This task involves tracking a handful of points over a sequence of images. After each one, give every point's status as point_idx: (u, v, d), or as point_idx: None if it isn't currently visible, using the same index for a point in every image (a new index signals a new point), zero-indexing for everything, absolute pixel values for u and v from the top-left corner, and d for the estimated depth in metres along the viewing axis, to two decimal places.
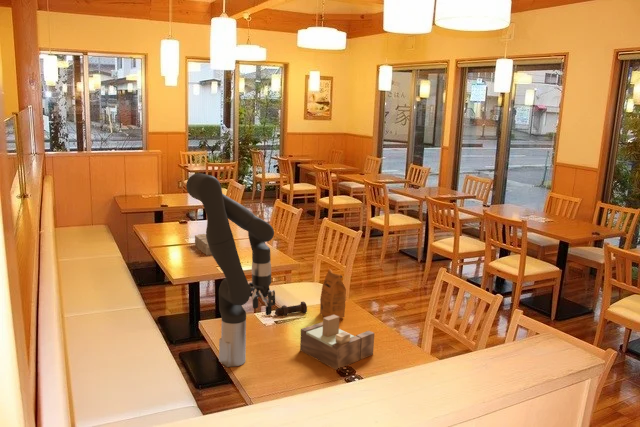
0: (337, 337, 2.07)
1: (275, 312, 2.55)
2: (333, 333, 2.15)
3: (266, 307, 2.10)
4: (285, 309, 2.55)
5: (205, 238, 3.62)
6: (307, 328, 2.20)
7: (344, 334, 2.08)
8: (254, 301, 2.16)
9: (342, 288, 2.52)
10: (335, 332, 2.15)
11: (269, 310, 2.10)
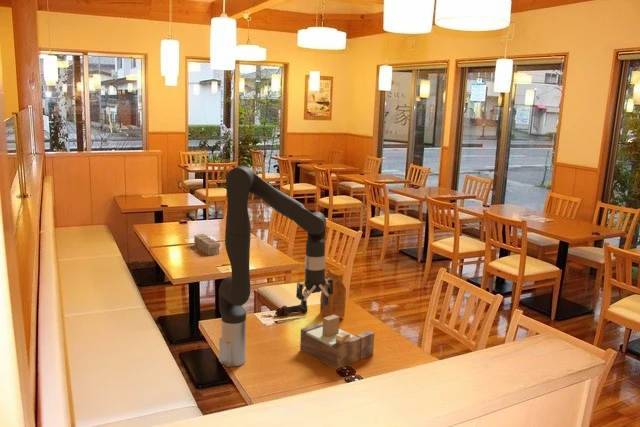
0: (337, 337, 2.07)
1: (276, 312, 2.55)
2: (333, 333, 2.15)
3: (326, 297, 2.05)
4: (285, 309, 2.55)
5: (205, 238, 3.62)
6: (307, 328, 2.20)
7: (344, 334, 2.08)
8: None
9: (342, 288, 2.52)
10: (335, 332, 2.15)
11: None
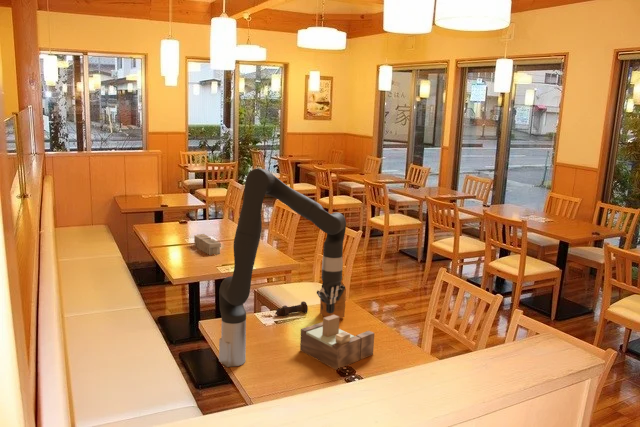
0: (337, 337, 2.07)
1: (276, 312, 2.55)
2: (333, 333, 2.15)
3: (333, 304, 2.00)
4: (286, 309, 2.55)
5: (206, 238, 3.62)
6: (307, 328, 2.20)
7: (344, 334, 2.08)
8: None
9: None
10: (335, 332, 2.15)
11: None
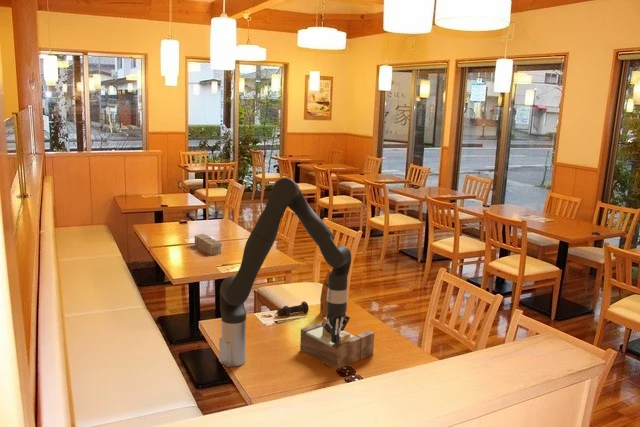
0: None
1: (277, 313, 2.54)
2: None
3: (338, 335, 2.05)
4: (287, 310, 2.54)
5: (206, 238, 3.62)
6: (307, 328, 2.20)
7: (344, 334, 2.08)
8: None
9: None
10: None
11: None
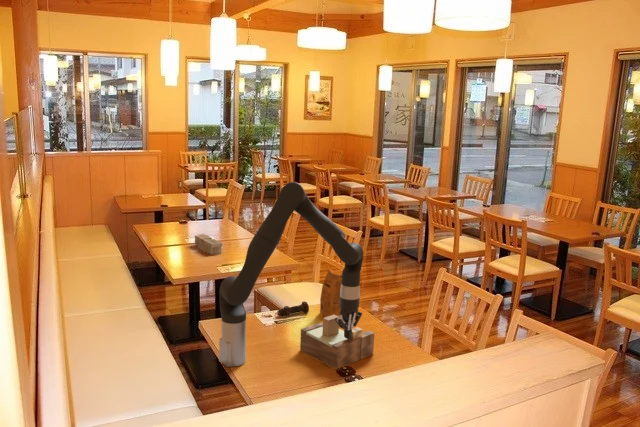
0: None
1: (278, 313, 2.54)
2: (333, 333, 2.15)
3: (351, 330, 2.09)
4: (287, 310, 2.54)
5: (207, 238, 3.62)
6: (307, 328, 2.20)
7: (356, 329, 2.13)
8: None
9: None
10: (335, 332, 2.15)
11: None
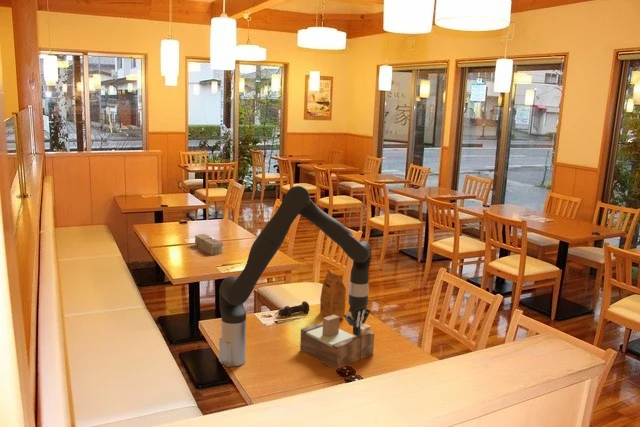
0: None
1: (279, 313, 2.54)
2: (333, 333, 2.15)
3: (359, 327, 2.12)
4: (288, 310, 2.54)
5: (207, 238, 3.63)
6: (307, 328, 2.20)
7: (365, 326, 2.16)
8: None
9: (342, 288, 2.52)
10: (335, 332, 2.15)
11: None
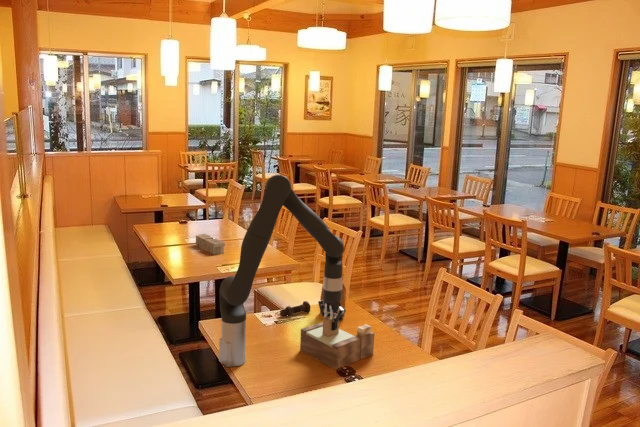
0: (358, 329, 2.15)
1: (280, 313, 2.54)
2: (333, 333, 2.15)
3: None
4: (290, 310, 2.54)
5: (208, 238, 3.63)
6: (307, 328, 2.20)
7: (365, 326, 2.16)
8: None
9: (342, 288, 2.52)
10: (335, 332, 2.15)
11: None
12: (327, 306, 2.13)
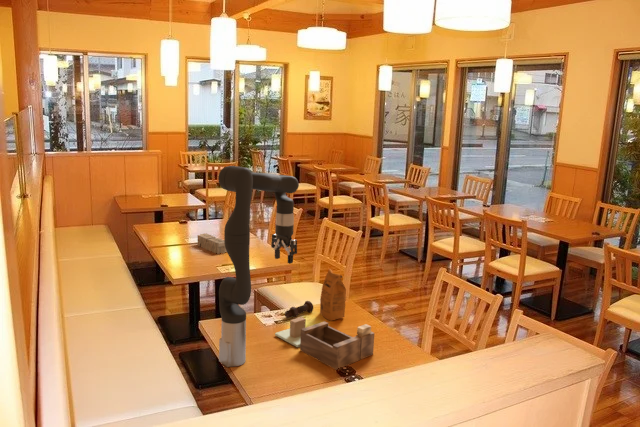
0: (358, 329, 2.15)
1: (286, 315, 2.52)
2: (300, 334, 2.31)
3: None
4: (295, 311, 2.54)
5: (211, 237, 3.64)
6: (307, 328, 2.20)
7: (365, 326, 2.16)
8: None
9: (342, 288, 2.52)
10: None
11: None
12: (279, 241, 2.27)
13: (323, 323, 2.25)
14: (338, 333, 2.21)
